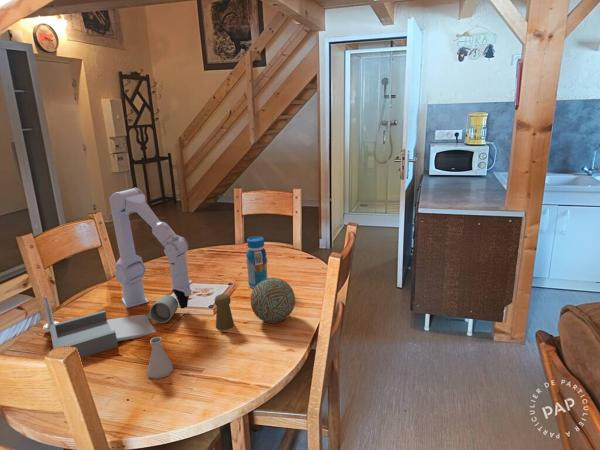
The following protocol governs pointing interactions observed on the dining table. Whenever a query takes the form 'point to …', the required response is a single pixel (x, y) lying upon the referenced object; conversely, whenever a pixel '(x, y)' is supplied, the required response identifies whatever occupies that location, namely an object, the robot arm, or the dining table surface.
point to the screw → (48, 314)
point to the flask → (158, 360)
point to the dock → (98, 332)
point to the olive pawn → (223, 312)
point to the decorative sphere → (272, 300)
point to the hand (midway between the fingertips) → (183, 307)
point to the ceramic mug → (163, 309)
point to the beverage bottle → (256, 261)
